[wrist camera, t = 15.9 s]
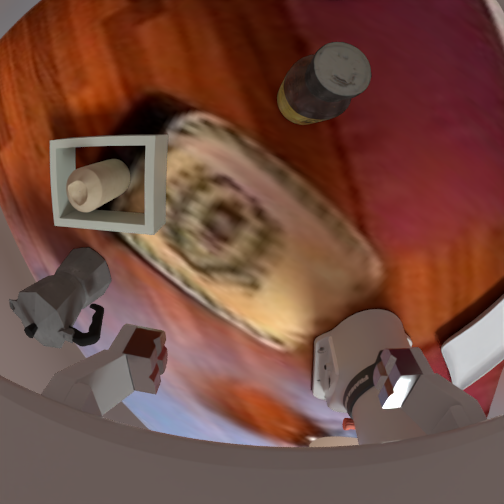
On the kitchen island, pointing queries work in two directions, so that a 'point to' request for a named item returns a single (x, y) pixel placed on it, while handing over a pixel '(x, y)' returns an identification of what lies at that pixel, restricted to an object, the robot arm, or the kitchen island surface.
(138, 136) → the grey rectangular frame
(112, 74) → the kitchen island surface
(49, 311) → the coffeepot
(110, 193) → the candle
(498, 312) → the salad plate
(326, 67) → the sauce bottle
